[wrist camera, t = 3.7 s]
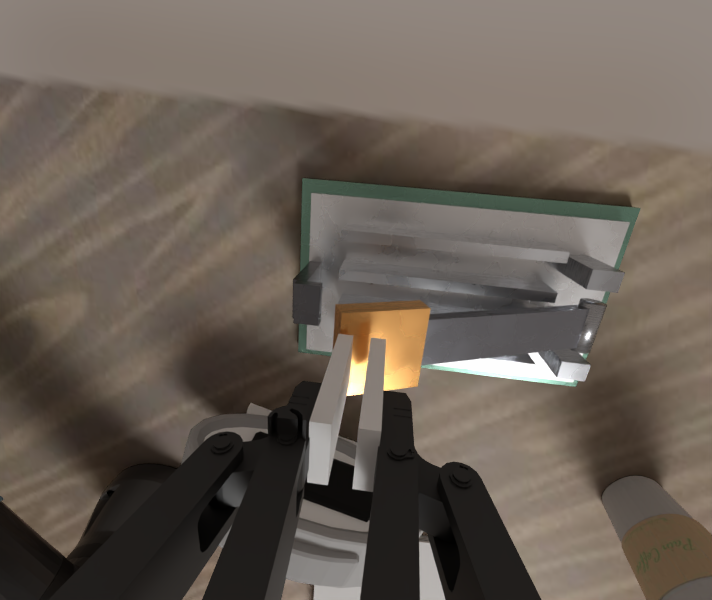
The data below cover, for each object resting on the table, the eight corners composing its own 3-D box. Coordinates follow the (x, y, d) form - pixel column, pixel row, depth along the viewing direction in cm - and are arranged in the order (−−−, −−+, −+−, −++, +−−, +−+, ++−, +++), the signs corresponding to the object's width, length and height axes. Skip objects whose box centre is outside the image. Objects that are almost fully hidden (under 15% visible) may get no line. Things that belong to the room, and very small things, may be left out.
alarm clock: (424, 460, 39) (436, 590, 27) (401, 497, 41) (403, 633, 29) (224, 385, 38) (145, 485, 26) (212, 427, 40) (135, 536, 28)
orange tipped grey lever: (327, 378, 21) (335, 397, 19) (332, 300, 19) (341, 313, 17) (573, 349, 27) (594, 362, 25) (594, 288, 25) (618, 297, 24)
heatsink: (300, 347, 35) (274, 396, 28) (305, 177, 29) (273, 181, 22) (571, 380, 33) (622, 443, 26) (632, 206, 28) (721, 221, 20)
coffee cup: (608, 452, 36) (744, 636, 22) (702, 475, 35) (900, 675, 21) (569, 516, 39) (664, 710, 25) (654, 537, 39) (797, 745, 25)
